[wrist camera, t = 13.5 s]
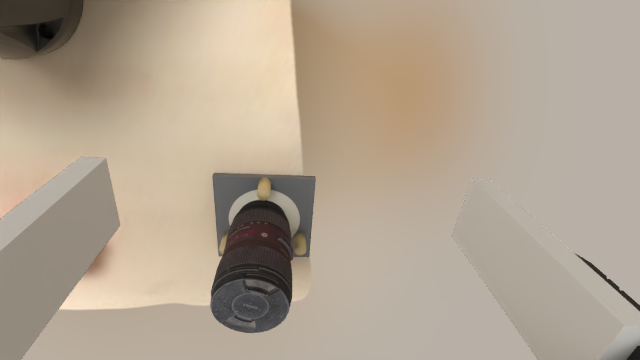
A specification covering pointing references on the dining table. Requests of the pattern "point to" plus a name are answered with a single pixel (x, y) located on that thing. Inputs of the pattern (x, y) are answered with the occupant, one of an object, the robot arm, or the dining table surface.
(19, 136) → the dining table surface
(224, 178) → the mount
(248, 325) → the camera lens
